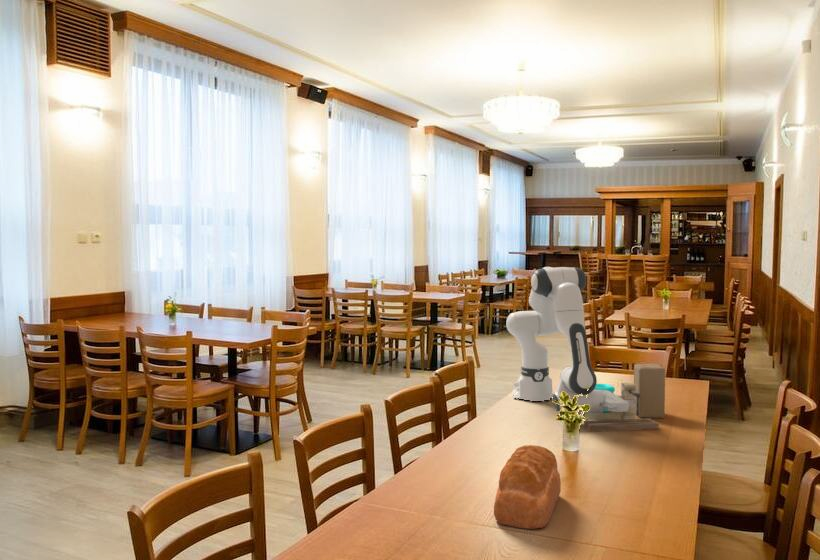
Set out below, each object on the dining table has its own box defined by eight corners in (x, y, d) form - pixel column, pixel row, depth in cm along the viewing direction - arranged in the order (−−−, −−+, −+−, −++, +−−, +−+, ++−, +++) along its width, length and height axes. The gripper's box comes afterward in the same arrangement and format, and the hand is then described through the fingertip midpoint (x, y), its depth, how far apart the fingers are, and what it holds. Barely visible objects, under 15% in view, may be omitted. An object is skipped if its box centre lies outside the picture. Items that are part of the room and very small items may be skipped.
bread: (490, 525, 168) (490, 464, 167) (513, 488, 192) (513, 435, 191) (546, 534, 162) (546, 471, 161) (563, 494, 187) (563, 439, 186)
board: (583, 426, 253) (583, 420, 253) (650, 423, 256) (650, 418, 256) (590, 431, 246) (590, 425, 246) (658, 428, 249) (658, 423, 249)
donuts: (591, 388, 272) (587, 382, 282) (591, 412, 273) (587, 406, 283) (617, 388, 272) (612, 383, 281) (616, 412, 272) (611, 406, 282)
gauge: (620, 418, 261) (621, 382, 260) (630, 418, 261) (631, 382, 260) (632, 426, 250) (633, 389, 249) (643, 426, 250) (643, 388, 249)
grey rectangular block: (658, 412, 273) (658, 363, 271) (665, 418, 263) (665, 368, 261) (632, 411, 274) (633, 363, 272) (638, 418, 264) (639, 367, 262)
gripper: (606, 399, 247) (642, 398, 248) (586, 387, 267) (619, 386, 268) (605, 416, 247) (642, 415, 248) (586, 403, 267) (619, 402, 269)
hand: (630, 400), depth 259 cm, fingers closed on gauge, 4 cm apart
